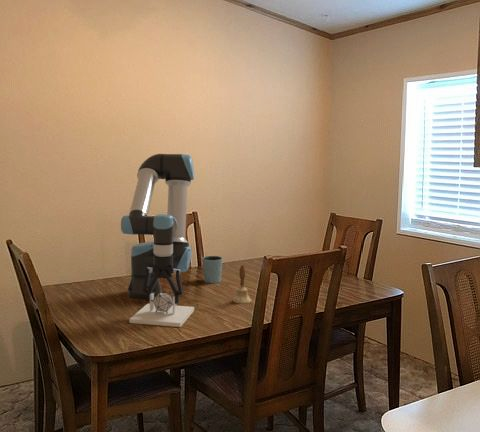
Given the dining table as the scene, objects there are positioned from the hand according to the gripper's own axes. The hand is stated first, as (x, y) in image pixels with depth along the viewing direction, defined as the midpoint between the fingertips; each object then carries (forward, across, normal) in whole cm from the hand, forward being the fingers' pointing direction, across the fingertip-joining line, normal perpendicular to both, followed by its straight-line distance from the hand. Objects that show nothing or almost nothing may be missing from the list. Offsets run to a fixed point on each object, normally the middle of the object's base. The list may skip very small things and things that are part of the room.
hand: (163, 310), depth 200 cm
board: (+2, 0, 0) cm, 2 cm away
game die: (+1, 0, 0) cm, 1 cm away
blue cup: (+3, -7, -57) cm, 57 cm away
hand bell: (+3, -27, -28) cm, 39 cm away
